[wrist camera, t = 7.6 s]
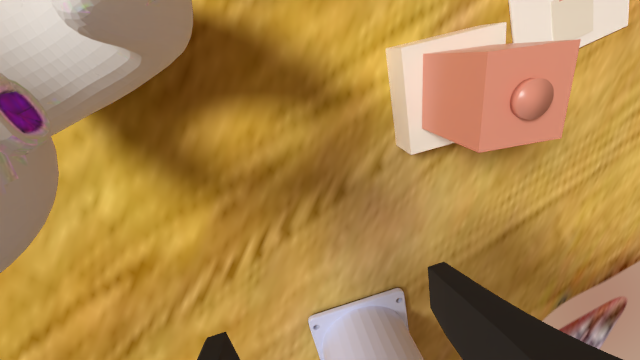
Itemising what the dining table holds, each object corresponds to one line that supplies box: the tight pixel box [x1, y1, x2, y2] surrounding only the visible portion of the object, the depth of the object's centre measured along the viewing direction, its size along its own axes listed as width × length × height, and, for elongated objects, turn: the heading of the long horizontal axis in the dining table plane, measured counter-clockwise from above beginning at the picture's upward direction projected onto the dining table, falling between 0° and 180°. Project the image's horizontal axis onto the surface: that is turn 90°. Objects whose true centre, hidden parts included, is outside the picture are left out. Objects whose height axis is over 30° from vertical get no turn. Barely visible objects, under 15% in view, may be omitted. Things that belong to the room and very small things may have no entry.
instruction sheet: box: [509, 0, 629, 48], centre depth 18 cm, size 6×8×1 cm
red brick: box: [422, 39, 581, 153], centre depth 15 cm, size 4×4×5 cm
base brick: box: [386, 22, 506, 155], centre depth 18 cm, size 6×6×2 cm
